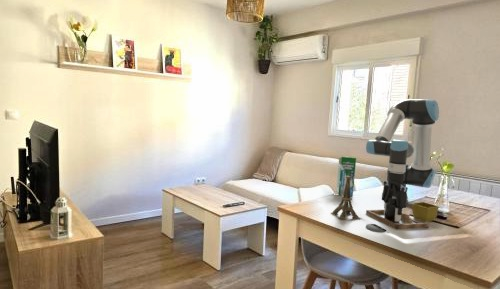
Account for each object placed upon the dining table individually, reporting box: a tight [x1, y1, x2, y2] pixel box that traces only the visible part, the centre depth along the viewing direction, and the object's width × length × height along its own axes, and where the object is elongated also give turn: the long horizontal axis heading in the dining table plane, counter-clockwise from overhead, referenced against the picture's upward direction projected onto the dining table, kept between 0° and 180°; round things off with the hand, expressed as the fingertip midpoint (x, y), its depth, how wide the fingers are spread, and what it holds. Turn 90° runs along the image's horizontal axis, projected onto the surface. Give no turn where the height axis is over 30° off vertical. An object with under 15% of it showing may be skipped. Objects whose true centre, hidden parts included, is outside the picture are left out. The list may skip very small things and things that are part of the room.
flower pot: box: [411, 201, 439, 223], centre depth 164 cm, size 9×9×9 cm
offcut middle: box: [400, 216, 414, 224], centre depth 161 cm, size 4×7×2 cm, turn 6°
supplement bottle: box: [383, 196, 400, 224], centre depth 158 cm, size 7×7×12 cm
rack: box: [365, 209, 430, 231], centre depth 159 cm, size 18×22×4 cm
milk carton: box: [335, 155, 357, 197], centre depth 214 cm, size 9×9×25 cm
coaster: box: [365, 223, 388, 233], centre depth 150 cm, size 9×9×1 cm
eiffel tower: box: [330, 174, 361, 221], centre depth 165 cm, size 11×11×25 cm
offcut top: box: [401, 209, 411, 219], centre depth 161 cm, size 4×8×2 cm, turn 152°
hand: (391, 218), depth 159 cm, fingers closed on supplement bottle, 7 cm apart
